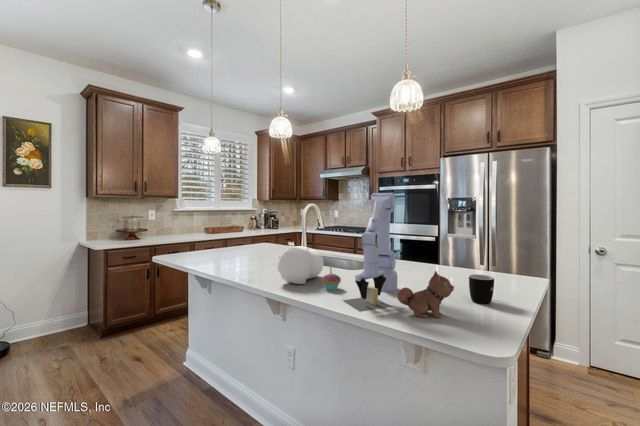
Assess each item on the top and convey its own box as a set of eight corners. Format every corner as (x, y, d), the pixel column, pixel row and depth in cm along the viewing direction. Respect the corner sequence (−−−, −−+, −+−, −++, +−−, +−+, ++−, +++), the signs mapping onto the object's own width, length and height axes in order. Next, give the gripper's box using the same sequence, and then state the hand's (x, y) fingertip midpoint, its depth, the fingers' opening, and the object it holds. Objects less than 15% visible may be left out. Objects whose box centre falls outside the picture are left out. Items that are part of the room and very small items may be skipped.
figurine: (457, 321, 105) (458, 276, 105) (398, 317, 109) (398, 274, 108) (450, 310, 115) (450, 270, 115) (396, 307, 118) (396, 268, 118)
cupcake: (339, 292, 138) (339, 265, 137) (320, 291, 140) (320, 264, 139) (341, 287, 146) (341, 262, 146) (324, 286, 148) (324, 261, 148)
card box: (368, 300, 125) (368, 285, 125) (377, 304, 121) (377, 288, 121) (364, 301, 124) (364, 286, 124) (373, 305, 120) (374, 289, 120)
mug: (493, 307, 119) (494, 280, 119) (467, 303, 123) (468, 278, 123) (493, 298, 130) (494, 274, 129) (469, 295, 134) (469, 272, 134)
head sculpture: (296, 242, 178) (276, 239, 152) (330, 250, 172) (315, 247, 146) (288, 276, 176) (267, 278, 150) (322, 285, 170) (306, 289, 144)
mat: (372, 297, 131) (372, 296, 131) (392, 307, 118) (392, 306, 118) (342, 301, 126) (342, 300, 126) (359, 312, 113) (359, 311, 113)
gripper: (376, 258, 130) (376, 291, 130) (350, 262, 121) (350, 297, 122) (389, 261, 124) (389, 295, 125) (362, 265, 116) (362, 301, 116)
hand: (370, 296), depth 123 cm, fingers open, 7 cm apart
